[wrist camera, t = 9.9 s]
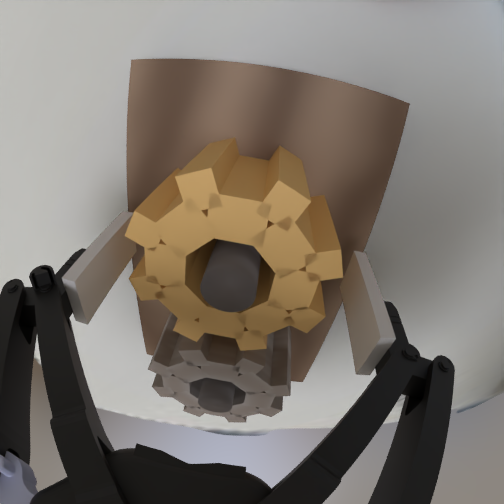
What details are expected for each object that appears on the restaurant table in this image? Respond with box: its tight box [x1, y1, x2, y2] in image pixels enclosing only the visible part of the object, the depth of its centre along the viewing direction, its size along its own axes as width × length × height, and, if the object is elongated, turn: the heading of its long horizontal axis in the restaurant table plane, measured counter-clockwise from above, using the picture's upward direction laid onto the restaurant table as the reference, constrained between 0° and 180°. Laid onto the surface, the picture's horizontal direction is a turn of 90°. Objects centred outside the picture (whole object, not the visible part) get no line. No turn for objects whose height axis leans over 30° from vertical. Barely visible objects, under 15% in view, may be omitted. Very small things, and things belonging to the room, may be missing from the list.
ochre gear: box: [125, 137, 343, 351], centre depth 16 cm, size 10×10×6 cm
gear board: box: [127, 59, 410, 422], centre depth 18 cm, size 16×26×9 cm, turn 172°
